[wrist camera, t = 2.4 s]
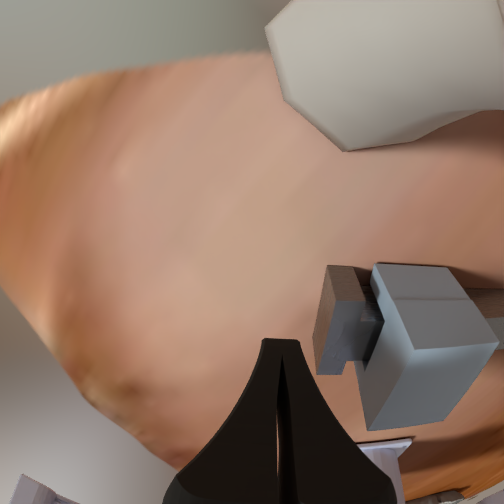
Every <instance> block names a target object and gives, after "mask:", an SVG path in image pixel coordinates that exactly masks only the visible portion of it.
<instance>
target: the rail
mask: <svg viewBox="0 0 504 504" xmlns="http://www.w3.org/2000/svg"><path fill="white" fill-rule="evenodd" d="M463 290H464V291H465V292H466V294H467V295H468V297H469V298H470V299H471V300H472V301H473V302H474V303H475V305H476V306H477V308H478V309H479V311H480V312H481V314H482V315H483V317H484V318H485V320H486V321H487V323H488V324H489V326H490V327H491V329H492V330H493V332H494V333H495V335H496V337H497V338H498V340H499V341H500V342H499V344H498V346H497V347H496V349H495V350H499V349H504V289H463ZM384 323H385V320H384V317H383V315H382V312H381V309H380V307H379V304H378V302H377V299H376V297H375V295H374V292H373V290H372V287H371V286H360V284H359V281H358V279H357V276H356V273H355V271H354V268H353V267H347V266H330V265H327V268H326V274H325V279H324V284H323V289H322V295H321V300H320V305H319V309H318V314H317V319H316V324H315V328H314V333H313V337H312V338H313V347H314V356H315V365H316V374H317V375H341V374H342V372H343V369H344V366H345V364H346V361H368V360H370V358H371V356H372V353H373V351H374V349H375V346H376V344H377V341H378V338H379V336H380V333H381V331H382V328H383V325H384Z"/></svg>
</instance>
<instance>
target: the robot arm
mask: <svg viewBox="0 0 504 504" xmlns="http://www.w3.org/2000/svg"><path fill="white" fill-rule="evenodd" d="M276 409H277V410H276ZM277 424H278V438H279V463H278V473H277ZM411 443H412V440H411V439H410V438H408V439H401V440H394V441H386V442H378V443H368V444H356V443H355V442H354V441H353V440H352V439H351V438H350V436H349V435H348V434H347V433H346V431H345V430H344V429H343V427H342V426H341V425H340V423H339V422H338V420H337V419H336V417H335V416H334V414H333V413H332V411H331V410H330V408H329V406H328V405H327V403H326V401H325V400H324V398H323V396H322V394H321V392H320V391H319V389H318V387H317V385H316V383H315V380H314V378H313V376H312V374H311V372H310V370H309V367H308V365H307V363H306V360H305V357H304V355H303V352H302V349H301V345H300V342H299V341H298V340H295V339H273V338H264V339H263V340H262V344H261V349H260V353H259V356H258V359H257V362H256V365H255V367H254V370H253V372H252V374H251V377H250V379H249V381H248V383H247V385H246V387H245V389H244V391H243V393H242V395H241V397H240V398H239V400H238V402H237V403H236V405H235V407H234V408H233V410H232V411H231V413H230V415H229V416H228V418H227V419H226V420H225V422H224V423H223V424H222V426H221V427H220V429H219V430H218V431H217V433H216V434H215V435H214V436H213V438H212V439H211V440H210V441H209V442H208V443H207V444H206V446H205V447H204V448H203V449H202V450H201V451H200V452H199V453H198V454H197V455H196V456H195V458H194V459H193V460H191V461H190V462H189V463H188V464H187V465H186V466H185V467H184V468H183V469H182V470H181V471H180V472H179V473H178V474H176V476H175V477H174V479H173V481H172V482H171V484H170V486H169V487H168V489H167V491H166V493H165V496H164V499H163V503H162V504H405V498H404V492H403V486H402V481H401V475H400V470H399V464H398V459H397V458H398V457H399V456H400V455H401V454H402V453H403V452H404V451H405V450H406V449H407V448H408V447H409V446H410V444H411ZM9 504H79V503H77V502H74V501H72V500H69V499H67V498H65V497H63V496H60V495H58V494H56V493H55V492H54V491H53V490H52V489H50V488H48V487H47V486H45V485H43V484H41V483H39V482H37V481H35V480H33V479H31V478H30V477H28V476H26V475H24V474H21V475H20V477H19V480H18V483H17V485H16V487H15V490H14V492H13V495H12V498H11V500H10V503H9ZM477 504H504V490H501V491H499V492H497V493H495V494H493V495H491V496H488V497H487V498H485V499H483V500H481V501H480V502H478V503H477Z"/></svg>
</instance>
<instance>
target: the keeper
mask: <svg viewBox="0 0 504 504" xmlns="http://www.w3.org/2000/svg"><path fill="white" fill-rule="evenodd" d="M370 285H371V287H372V290H373V292H374V295H375V297H376V299H377V302H378V304H379V307H380V309H381V312H382V315H383V317H384V320H385V323H384V325H383V328H382V331H381V333H380V336H379V338H378V341H377V344H376V346H375V349H374V351H373V353H372V356H371V358H370V360H368V361H354V365H355V370H356V374H357V379H358V384H359V391H360V396H361V401H362V406H363V411H364V417H365V422H366V428H367V431H376V430H386V429H394V428H402V427H409V426H416V425H422V424H428V423H434V422H439V421H443V420H444V419H445V418H446V417H447V416H448V414H449V413H450V412H451V411H452V410H453V408H454V407H455V406H456V405H457V403H458V402H459V401H460V399H461V398H462V397H463V396H464V394H465V393H466V392H467V390H468V389H469V387H470V386H471V385H472V383H473V382H474V381H475V379H476V378H477V376H478V375H479V373H480V372H481V370H482V369H483V368H484V366H485V365H486V363H487V362H488V360H489V358H490V357H491V355H492V354H493V352H494V351H495V349H496V347H497V346H498V344H499V342H500V341H499V340H498V338H497V337H496V335H495V333H494V332H493V330H492V329H491V327H490V326H489V324H488V323H487V321H486V320H485V318H484V317H483V315H482V314H481V312H480V311H479V309H478V308H477V306H476V305H475V303H474V302H473V301H472V300H471V299H470V298H469V297H468V295H467V294H466V292H465V291H464V290H463V288H462V287H461V285H460V284H459V283H458V281H457V280H456V279H455V277H454V276H453V275H452V273H451V272H450V271H449V270H448V268H447V267H428V266H411V265H393V264H375V263H374V267H373V271H372V274H371V278H370Z"/></svg>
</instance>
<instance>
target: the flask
mask: <svg viewBox="0 0 504 504" xmlns="http://www.w3.org/2000/svg"><path fill="white" fill-rule="evenodd" d="M265 33H266V35H267V39H268V43H269V46H270V50H271V54H272V57H273V61H274V65H275V68H276V72H277V76H278V80H279V83H280V87H281V91H282V95H283V99H284V101H285V102H286V103H288V104H289V105H290V106H291V107H292V108H294V109H295V110H296V111H297V112H298V113H300V114H301V115H302V116H303V117H304V118H305V119H307V120H308V121H309V122H310V123H311V124H312V125H314V126H315V127H316V128H317V129H318V130H319V131H320V132H321V133H323V134H324V135H325V136H326V137H327V138H328V139H329V140H330V141H331V142H332V143H334V144H335V145H336V146H337V147H338V148H339V149H340V150H341V151H342V152H345V151H351V150H357V149H363V148H370V147H377V146H384V145H391V144H398V143H406V142H412V141H414V140H417V139H419V138H421V137H423V136H425V135H427V134H428V133H430V132H432V131H434V130H436V129H438V128H440V127H442V126H445V125H447V124H449V123H452V122H454V121H457V120H459V119H462V118H465V117H467V116H470V115H472V114H475V113H477V112H480V111H487V110H504V0H292V1H291V2H290V3H288V4H287V5H286V7H284V8H283V9H282V10H281V12H279V13H278V15H276V16H275V17H274V18H273V19H272V20H271V21H270V23H269V24H268V25H267V26H266V27H265Z"/></svg>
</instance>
